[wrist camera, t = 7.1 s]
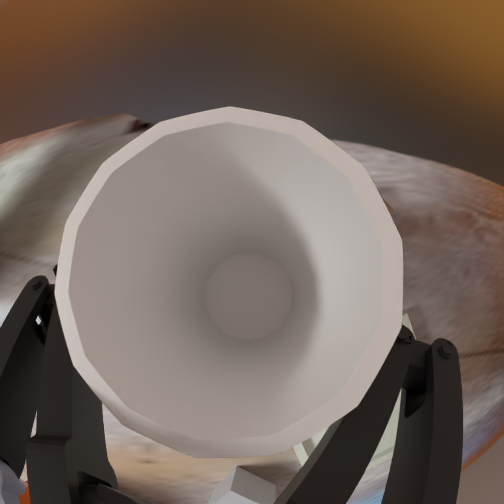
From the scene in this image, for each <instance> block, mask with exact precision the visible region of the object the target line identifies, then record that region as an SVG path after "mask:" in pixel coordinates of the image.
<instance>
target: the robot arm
mask: <svg viewBox="0 0 504 504" xmlns="http://www.w3.org/2000/svg"><path fill="white" fill-rule="evenodd" d="M57 268H58V264H57V265H56V266H55V267H54V269H53V271H54V273H55V276H56V275H57ZM54 293H55V284H49V281H48V279H47V278H46V277H45V276H42V275H41V276H36V277H34V278H32V279H31V280H30V281H29V282H28V283H27V284H26V286H25V287H24V289H23V290H22V292H21V293H20V295H19V297H18V298H17V300H16V301H15V303H14V305H13V306H12V308H11V310H10V312H9V313H8V315H7V317H6V319H5V320H4V322H3V324H2V326H1V328H0V504H20V502H19V494H24V493H25V485H24V484H23V482H22V481H20V480H19V479H20V476H21V474H22V471H23V468H24V465H25V461H26V464H27V478H28V487H29V495H30V502H31V503H30V504H153V503H151V502H149V501H146V500H144V499H141V498H139V497H136V496H133V495H131V494H129V493H126V492H123V491H120V490H119V489H118V484H117V479H116V476H115V473H114V470H113V468H112V466H111V465H110V463H109V461H108V457H107V451H106V443H105V434H104V424H103V412H102V401H101V400H100V399H99V398H98V397H97V395H96V394H95V393H94V392H93V390H92V389H91V388H90V387H89V385H88V384H87V383H86V382H85V380H84V379H83V378H82V376H81V375H80V374H79V372H78V371H77V370H76V368H75V367H74V365H73V363H72V360H71V357H70V353H69V350H68V347H67V343H66V340H65V336H64V333H63V329H62V325H61V321H60V317H59V313H58V308H57V304H56V299H55V294H54ZM38 316H39V318H40V320H41V323H40V324H39V325H38V324H37V322H36V318H37V317H38ZM400 391H401V400H400V410H399V419H398V426H397V433H396V440H395V446H394V452H393V457H392V462H391V467H390V471H389V476H388V480H387V484H386V488H385V492H384V496H383V499H382V503H381V504H456V500H457V494H458V488H459V480H460V472H461V462H462V447H463V401H462V385H461V374H460V365H459V357H458V352H457V349H456V347H455V346H454V345H453V344H452V343H451V342H450V341H449V340H446V339H444V338H439V339H436V340H435V341H434V342H433V344H432V345H429V344H426V343H423V342H420V341H417V340H415V337H414V335H413V333H412V332H411V330H410V329H409V328H407V327H406V326H404V325H401V329H400V332H399V334H398V336H397V338H396V340H395V342H394V344H393V346H392V348H391V350H390V352H389V354H388V355H387V357H386V359H385V361H384V363H383V365H382V366H381V368H380V370H379V372H378V374H377V375H376V377H375V379H374V381H373V382H372V384H371V386H370V387H369V389H368V391H367V392H366V394H365V395H364V397H363V399H362V400H361V402H360V403H359V405H358V406H357V407H356V408H354V409H353V410H351V411H350V412H349V413H347V414H346V415H344V416H343V417H341V418H340V419H339V420H337V421H336V422H334V423H333V424H331V425H330V426H329V428H328V429H327V431H326V432H325V434H324V436H323V437H322V439H321V440H320V442H319V443H318V445H317V446H316V448H315V449H314V451H313V452H312V454H311V455H310V457H309V458H308V459H307V461H306V462H305V464H304V465H303V466H302V468H301V469H300V470H299V472H298V473H297V474H296V476H295V477H294V478H293V480H292V481H291V482H290V484H289V485H288V486H287V487H286V489H285V490H284V491H283V492H282V494H281V495H280V496H279V497H278V498H277V499H276V501H275V502H274V503H273V504H346V503H347V501H348V499H349V498H350V496H351V495H352V493H353V491H354V490H355V488H356V486H357V485H358V483H359V481H360V479H361V478H362V476H363V474H364V472H365V470H366V468H367V467H368V465H369V463H370V461H371V459H372V457H373V455H374V453H375V451H376V449H377V447H378V445H379V442H380V440H381V438H382V436H383V434H384V431H385V429H386V427H387V424H388V422H389V420H390V417H391V415H392V412H393V410H394V407H395V404H396V402H397V399H398V396H399V393H400ZM36 411H37V426H36V434H35V436H33V437H31V432H32V427H33V423H34V419H35V415H36ZM30 437H31V438H30Z"/></svg>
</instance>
